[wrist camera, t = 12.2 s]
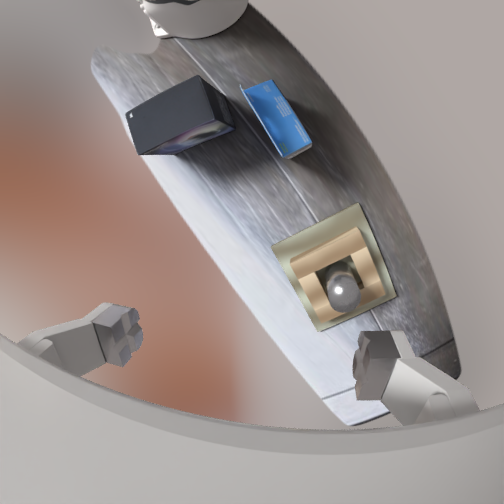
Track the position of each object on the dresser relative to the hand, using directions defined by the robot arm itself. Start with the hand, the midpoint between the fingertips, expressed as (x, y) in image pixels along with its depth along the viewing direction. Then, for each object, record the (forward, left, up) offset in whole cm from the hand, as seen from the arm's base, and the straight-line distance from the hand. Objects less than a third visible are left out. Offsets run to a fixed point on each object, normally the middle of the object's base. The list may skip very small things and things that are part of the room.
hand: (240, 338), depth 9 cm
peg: (+12, +2, -30) cm, 33 cm away
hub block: (+12, +2, -31) cm, 33 cm away
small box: (-17, -6, -31) cm, 36 cm away
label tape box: (-10, +5, -31) cm, 33 cm away
